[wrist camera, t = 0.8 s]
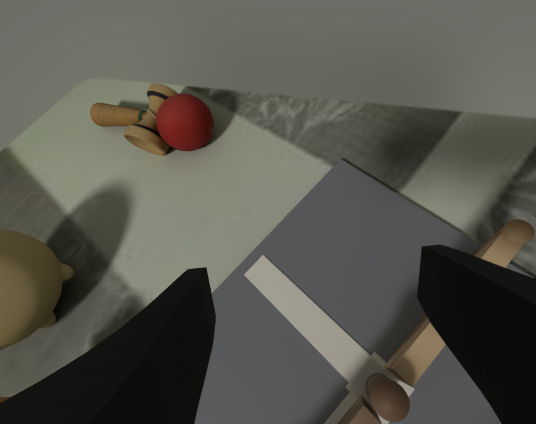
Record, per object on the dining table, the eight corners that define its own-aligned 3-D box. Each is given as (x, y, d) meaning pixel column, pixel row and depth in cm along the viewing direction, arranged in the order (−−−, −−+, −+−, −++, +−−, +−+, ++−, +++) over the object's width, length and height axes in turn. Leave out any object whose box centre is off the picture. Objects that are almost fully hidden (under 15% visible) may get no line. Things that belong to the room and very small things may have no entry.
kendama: (98, 156, 40) (199, 172, 32) (61, 116, 36) (166, 123, 27) (135, 119, 44) (233, 124, 35) (105, 79, 39) (210, 73, 31)
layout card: (577, 308, 20) (582, 307, 20) (320, 670, 16) (320, 678, 16) (340, 161, 29) (340, 158, 29) (140, 371, 25) (136, 371, 25)
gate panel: (400, 381, 20) (415, 389, 16) (382, 365, 21) (392, 368, 16) (500, 255, 22) (539, 229, 17) (481, 243, 23) (514, 215, 18)
